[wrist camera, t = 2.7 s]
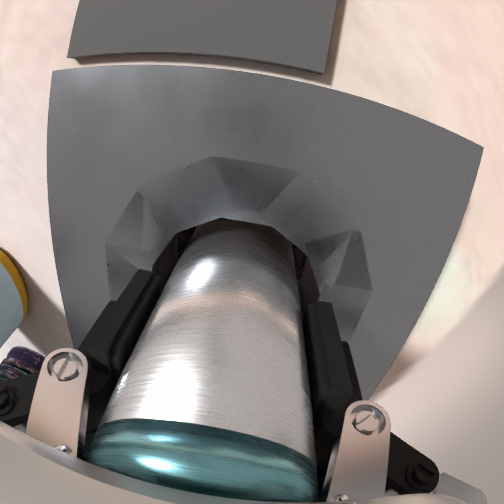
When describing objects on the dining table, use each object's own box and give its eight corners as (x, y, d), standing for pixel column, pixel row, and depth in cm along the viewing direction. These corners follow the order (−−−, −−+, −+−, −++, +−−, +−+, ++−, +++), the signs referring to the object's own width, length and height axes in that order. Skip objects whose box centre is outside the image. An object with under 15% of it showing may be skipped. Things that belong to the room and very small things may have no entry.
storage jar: (61, 416, 26) (17, 517, 13) (-1, 357, 22) (-64, 455, 9) (106, 408, 23) (56, 541, 10) (28, 333, 20) (-58, 466, 6)
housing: (102, 74, 11) (52, 71, 8) (435, 133, 12) (483, 147, 8) (108, 335, 19) (83, 377, 15) (341, 376, 19) (349, 424, 15)
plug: (196, 195, 14) (46, 429, 3) (303, 214, 14) (363, 486, 3) (188, 285, 16) (108, 505, 6) (280, 301, 16) (283, 535, 6)
